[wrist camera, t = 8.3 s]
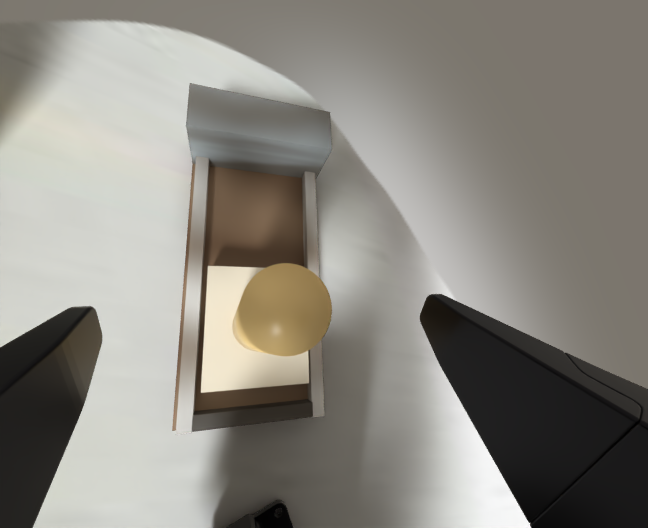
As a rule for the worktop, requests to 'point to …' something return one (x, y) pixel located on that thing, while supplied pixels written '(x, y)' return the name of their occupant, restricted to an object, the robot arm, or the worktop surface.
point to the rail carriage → (261, 326)
